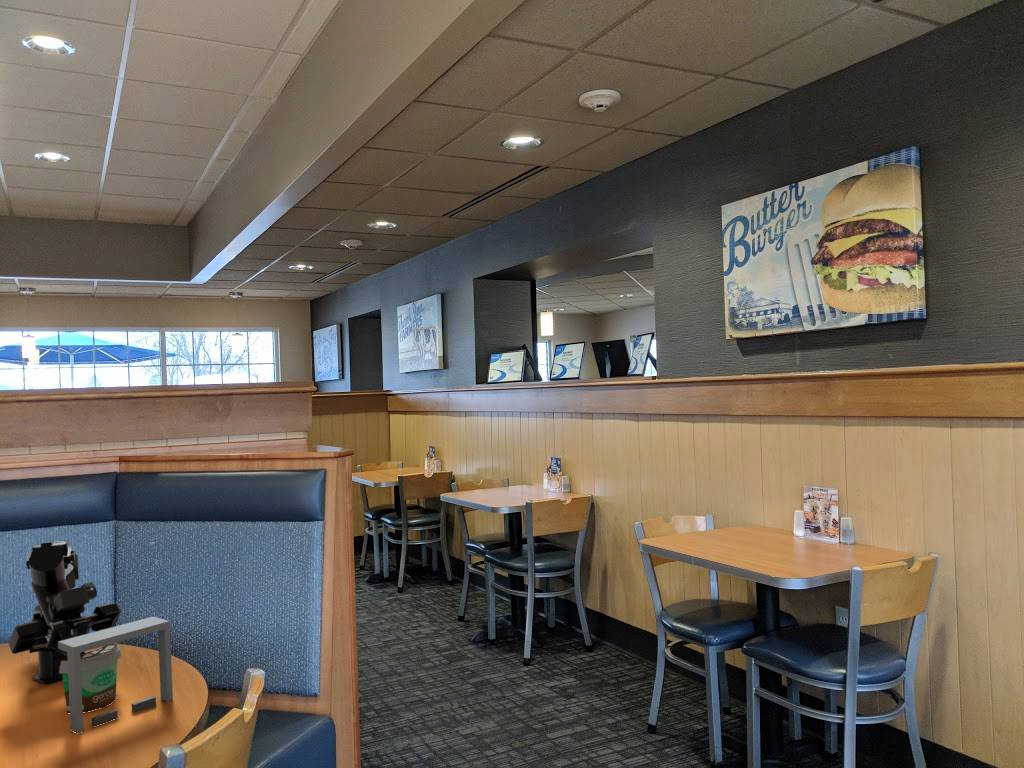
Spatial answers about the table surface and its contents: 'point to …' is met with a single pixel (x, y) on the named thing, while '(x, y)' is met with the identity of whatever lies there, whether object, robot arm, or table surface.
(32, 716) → the table surface
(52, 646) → the robot arm
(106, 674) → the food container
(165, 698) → the overhang shelf
